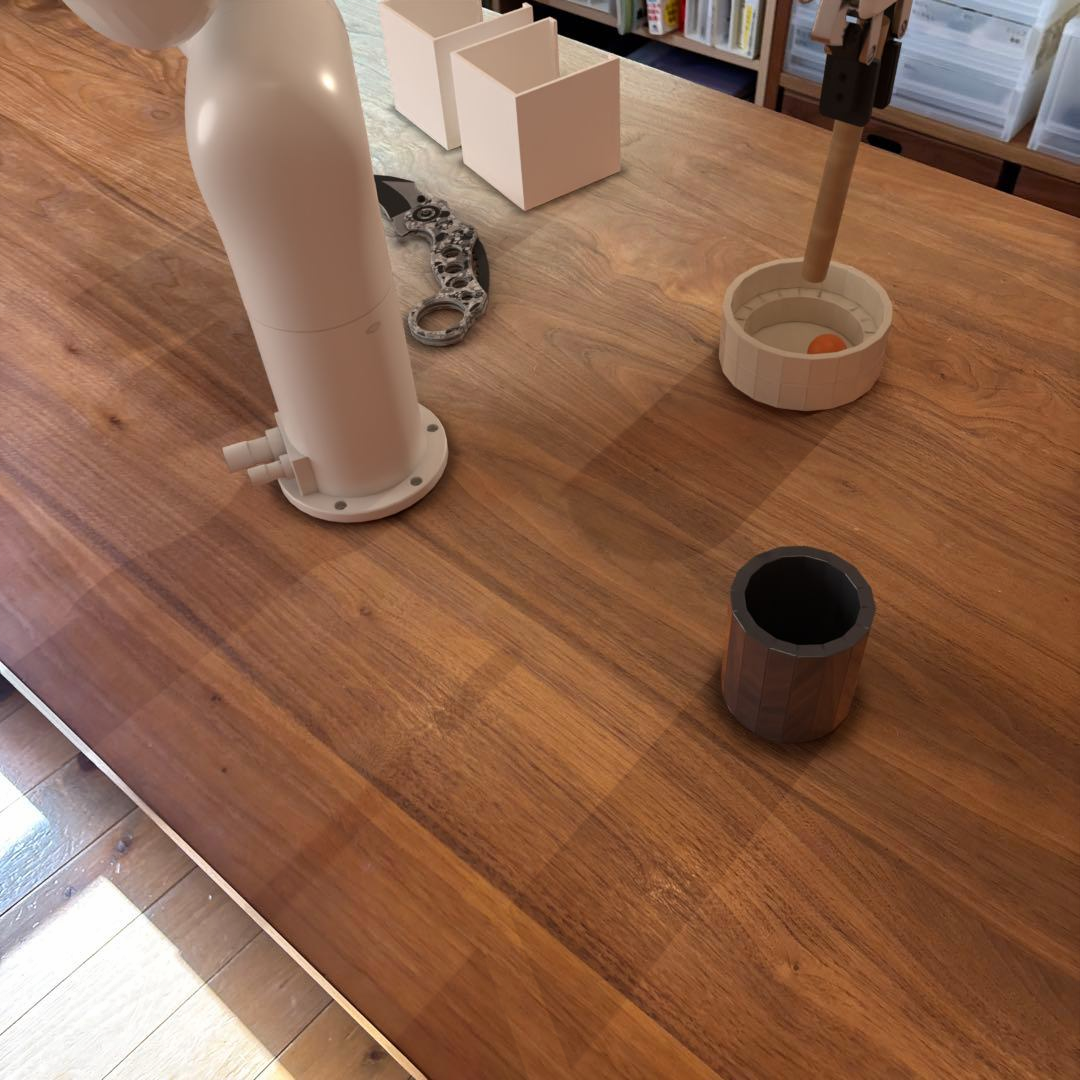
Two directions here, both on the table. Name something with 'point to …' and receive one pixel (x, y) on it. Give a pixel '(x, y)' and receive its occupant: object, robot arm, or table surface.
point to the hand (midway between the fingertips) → (854, 108)
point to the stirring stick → (834, 188)
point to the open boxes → (503, 96)
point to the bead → (826, 344)
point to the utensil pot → (795, 642)
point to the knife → (439, 256)
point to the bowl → (803, 334)
